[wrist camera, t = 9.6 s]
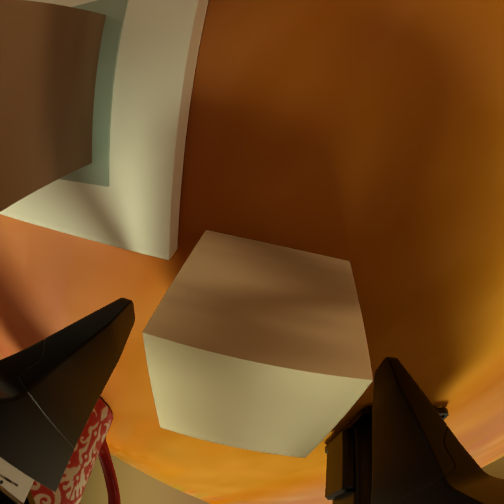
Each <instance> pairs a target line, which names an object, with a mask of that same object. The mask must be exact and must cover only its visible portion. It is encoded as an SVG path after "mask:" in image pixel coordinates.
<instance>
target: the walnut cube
mask: <svg viewBox="0 0 504 504" xmlns="http://www.w3.org/2000/svg"><path fill="white" fill-rule="evenodd" d="M105 18H106V15H104V14H100V13H96V12H92V11H87V10H83V9H78V8H73V7H68V6H63V5H57V4H50V3H44V2H36V1H27V0H0V212H1V211H3V210H4V209H6V208H8V207H9V206H11V205H12V204H14V203H16V202H18V201H19V200H21V199H23V198H24V197H26V196H28V195H30V194H31V193H33V192H35V191H37V190H39V189H41V188H42V187H44V186H46V185H48V184H50V183H52V182H54V181H56V180H58V179H60V178H62V177H64V176H66V175H68V174H70V173H72V172H74V171H76V170H78V169H80V168H82V167H85V166H87V165H89V164H91V163H92V127H93V107H94V94H95V83H96V74H97V66H98V58H99V51H100V45H101V39H102V33H103V28H104V23H105Z"/></svg>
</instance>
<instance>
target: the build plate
mask: <svg viewBox="0 0 504 504" xmlns="http://www.w3.org/2000/svg"><path fill="white" fill-rule="evenodd" d="M27 1H36V2H44V3H50V4H57V5H63V6H68V7H73V8H78V9H83V10H87V11H92V12H96V13H100V14H104V15H106V18H105V23H104V28H103V33H102V39H101V45H100V51H99V58H98V66H97V74H96V83H95V94H94V107H93V127H92V163H91V164H89V165H87V166H85V167H82V168H80V169H78V170H76V171H74V172H72V173H70V174H68V175H66V176H64V177H62V178H60V179H58V180H56V181H54V182H52V183H50V184H48V185H46V186H44V187H42V188H41V189H39V190H37V191H35V192H33V193H31V194H30V195H28V196H26V197H24V198H23V199H21V200H19V201H18V202H16V203H14V204H12V205H11V206H9V207H8V208H6V209H4V210H3V211H1V212H0V214H1V215H5V216H8V217H11V218H15V219H18V220H22V221H25V222H28V223H32V224H35V225H39V226H42V227H46V228H49V229H53V230H56V231H60V232H64V233H67V234H71V235H74V236H78V237H82V238H85V239H89V240H93V241H96V242H100V243H104V244H108V245H111V246H115V247H119V248H123V249H127V250H131V251H134V252H138V253H142V254H146V255H150V256H154V257H158V258H162V259H166V260H170V258H171V257H172V256H173V254H174V253H175V251H176V250H177V247H178V226H179V210H180V196H181V183H182V171H183V161H184V151H185V142H186V133H187V124H188V116H189V109H190V101H191V94H192V87H193V81H194V75H195V68H196V62H197V57H198V51H199V45H200V40H201V35H202V30H203V25H204V20H205V15H206V10H207V6H208V1H209V0H27Z"/></svg>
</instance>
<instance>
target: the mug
mask: <svg viewBox="0 0 504 504" xmlns="http://www.w3.org/2000/svg"><path fill="white" fill-rule="evenodd" d="M112 420H113V414H112V412H111V410H110V409H109V407H108V406H107V405H106V404H105V403H104V402H103V401H102V400H101V399H100V398H99V399H98V401H97V403H96V405H95V407H94V409H93V411H92V413H91V415H90V417H89V419H88V421H87V423H86V425H85V427H84V429H83V432H82V434H81V436H80V438H79V440H78V442H77V444H76V447H75V448H74V451H73V453H72V456H71V458H70V460H69V462H68V465H67V467H66V469H65V472H64V474H63V476H62V479H61V481H60V483H59V486H58V488H57V490H56V492H54V491H52V490H50V489H49V488H47V487H45V486H43V485H42V484H40V483H38V482H37V481H35V480H34V482H33V484H32V486H31V488H30V490H31V492H32V495H33V498H34V501H35V503H36V504H80V500H81V498H82V494H83V491H84V489H85V486H86V484H87V481H88V479H89V476H90V474H91V471H92V468H93V466H94V463H95V461H96V458H97V456H98V457H99V460H100V463H101V466H102V469H103V473H104V478H105V482H106V487H107V491H108V504H121V503H120V494H119V488H118V483H117V478H116V474H115V470H114V467H113V463H112V460H111V456H110V452H109V448H108V445H107V442H106V434H107V432H108V430H109V428H110V426H111V423H112Z"/></svg>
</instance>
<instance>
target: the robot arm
mask: <svg viewBox="0 0 504 504" xmlns="http://www.w3.org/2000/svg"><path fill="white" fill-rule="evenodd" d="M134 322H135V313H134V305H133V302H132V301H131V300H129V299H126V298H120V299H118V300H116V301H114V302H112V303H110V304H108V305H107V306H105V307H103V308H101V309H99V310H97V311H95V312H93V313H92V314H90V315H88V316H86V317H84V318H82V319H80V320H78V321H77V322H75V323H73V324H71V325H69V326H67V327H65V328H64V329H62V330H60V331H58V332H56V333H54V334H53V335H51V336H49V337H47V338H45V340H41V341H40V342H38V343H36V344H34V345H32V346H30V347H28V348H26V349H24V350H22V351H20V352H18V353H16V354H13V355H11V356H9V357H6V358H4V359H2V360H0V504H36V503H35V501H34V498H33V495H32V492H31V490H30V488H31V486H32V484H33V482H34V480H35V481H37V482H38V483H40V484H42V485H43V486H45V487H47V488H49V489H50V490H52V491H54V492H56V490H57V488H58V486H59V483H60V481H61V479H62V476H63V474H64V472H65V469H66V467H67V465H68V462H69V460H70V458H71V456H72V453H73V451H74V448H75V447H76V444H77V442H78V440H79V438H80V436H81V434H82V432H83V429H84V427H85V425H86V423H87V421H88V419H89V417H90V415H91V413H92V411H93V409H94V407H95V405H96V403H97V401H98V399H99V397H100V395H101V393H102V391H103V389H104V387H105V385H106V383H107V381H108V379H109V378H110V376H111V374H112V372H113V370H114V368H115V366H116V364H117V363H118V361H119V359H120V356H121V354H122V352H123V349H124V347H125V344H126V342H127V339H128V337H129V334H130V332H131V329H132V327H133V325H134ZM447 416H448V410H447V408H434V406H433V405H432V404H431V402H430V401H429V400H428V398H427V397H426V396H425V394H424V393H423V392H422V390H421V389H420V388H419V386H418V385H417V384H416V382H415V381H414V380H413V378H412V377H411V376H410V374H409V373H408V372H407V370H406V369H405V368H404V367H403V365H402V364H401V363H400V361H399V360H398V359H397V358H393V357H386V358H385V359H384V360H383V362H382V363H381V364H380V366H379V367H378V369H377V370H376V372H375V376H374V394H373V407H366V408H364V409H362V410H361V411H360V412H359V413H358V414H357V415H356V416H355V417H354V418H353V419H352V420H351V421H350V422H349V424H348V425H347V426H346V427H345V428H344V429H343V430H342V431H341V432H340V433H339V434H338V435H337V436H336V437H335V438H334V439H333V440H332V441H331V442H330V443H329V444H328V445H327V446H326V447H325V453H327V471H326V490H325V497H326V498H327V499H328V500H333V503H332V504H504V479H500V478H496V477H493V476H490V475H488V474H487V473H485V472H484V471H483V470H482V469H481V468H480V466H479V465H478V464H477V463H476V462H475V460H474V459H473V458H472V457H471V456H470V454H469V453H468V452H467V451H466V450H465V448H464V447H463V446H462V445H461V443H460V442H459V441H458V440H457V438H456V437H455V435H454V434H453V433H452V431H451V430H450V429H449V427H448V426H447V424H446V423H445V422H444V419H445V418H446V417H447Z"/></svg>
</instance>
